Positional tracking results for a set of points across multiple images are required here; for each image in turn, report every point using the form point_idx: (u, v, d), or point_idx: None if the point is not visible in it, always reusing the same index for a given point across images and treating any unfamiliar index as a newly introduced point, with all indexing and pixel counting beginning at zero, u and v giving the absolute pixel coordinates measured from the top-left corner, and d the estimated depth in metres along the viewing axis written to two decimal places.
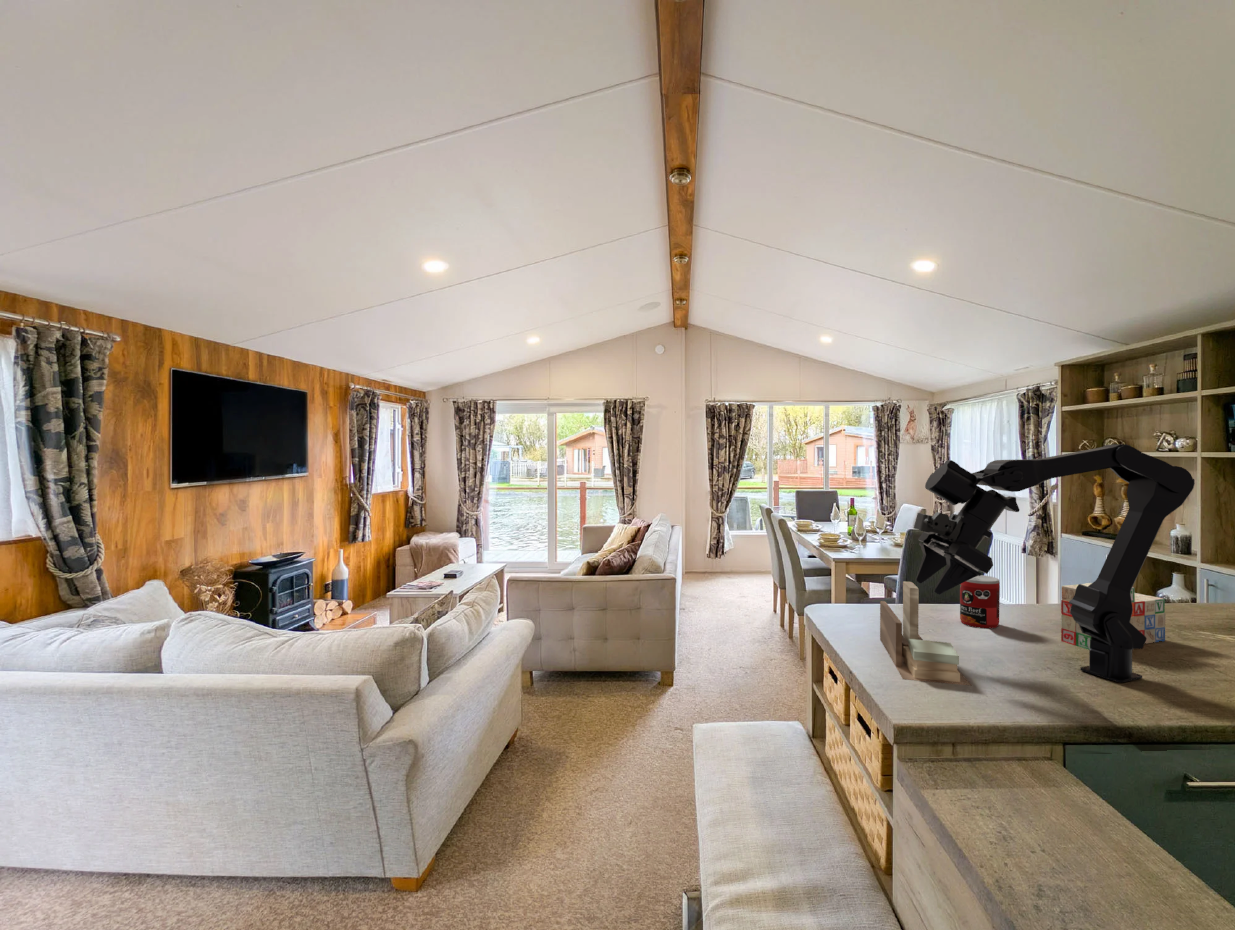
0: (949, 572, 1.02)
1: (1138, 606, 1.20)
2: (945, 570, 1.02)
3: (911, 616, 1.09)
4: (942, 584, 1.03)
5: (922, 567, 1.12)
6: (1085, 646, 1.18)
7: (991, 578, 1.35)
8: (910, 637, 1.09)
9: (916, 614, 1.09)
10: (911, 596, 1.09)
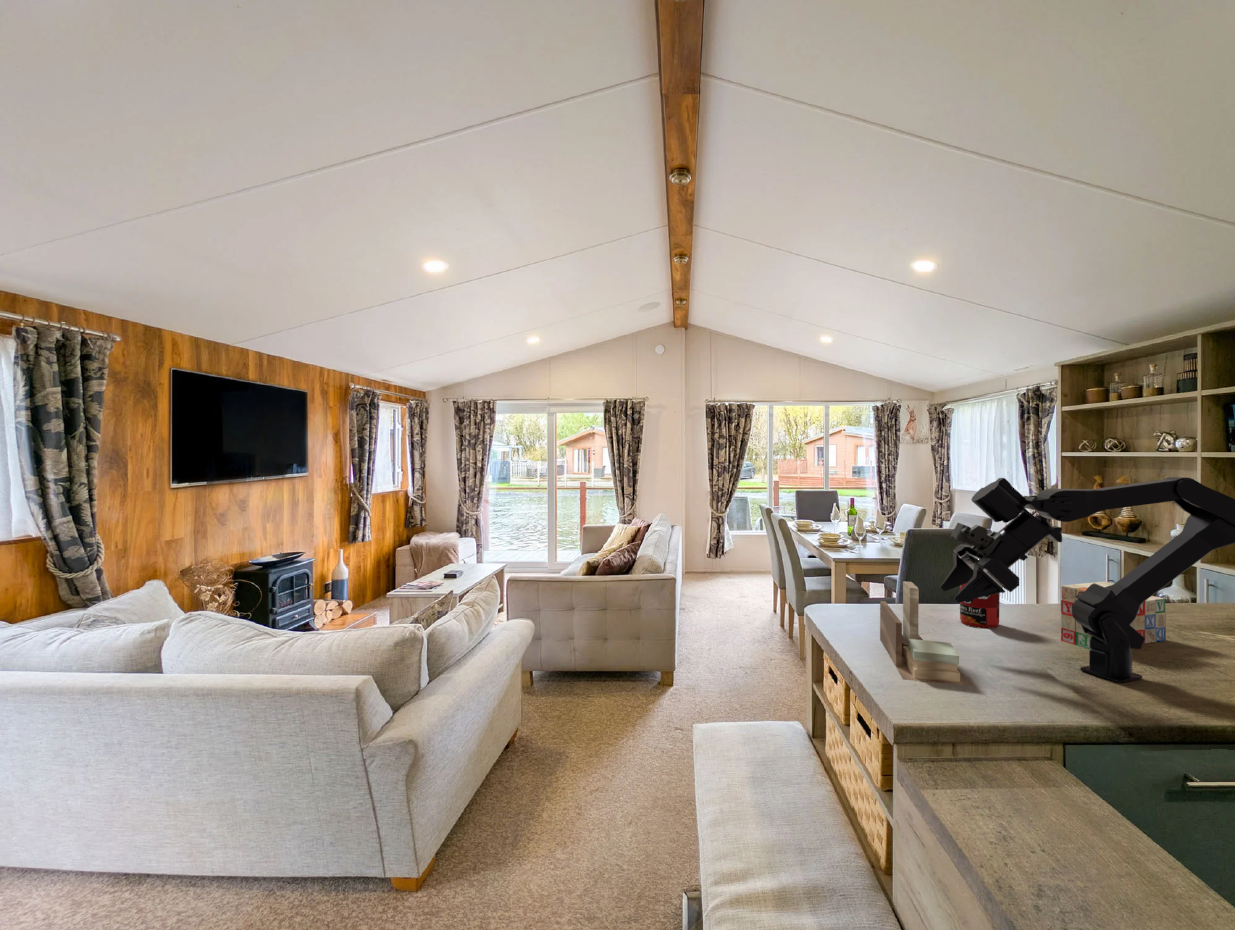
0: (973, 583, 1.04)
1: None
2: (970, 581, 1.04)
3: (911, 616, 1.09)
4: (964, 593, 1.05)
5: (949, 576, 1.14)
6: (1085, 645, 1.18)
7: None
8: (910, 637, 1.09)
9: (916, 614, 1.09)
10: (911, 596, 1.09)
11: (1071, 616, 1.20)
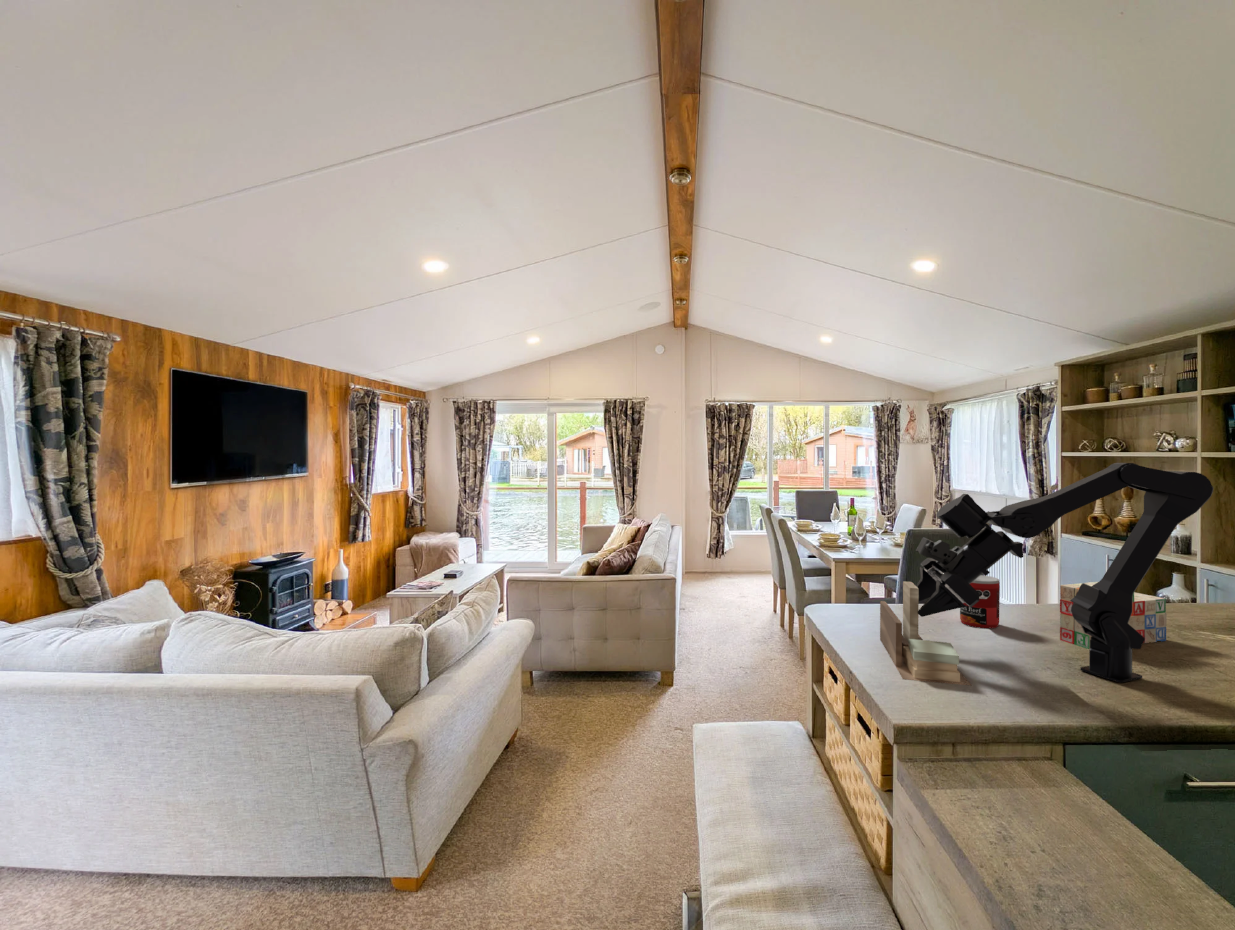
0: (936, 598, 1.05)
1: (1138, 606, 1.20)
2: (933, 595, 1.06)
3: (911, 616, 1.09)
4: (926, 608, 1.06)
5: None
6: (1083, 645, 1.18)
7: (991, 578, 1.35)
8: (910, 637, 1.09)
9: (916, 614, 1.09)
10: (911, 596, 1.09)
11: (1070, 615, 1.21)
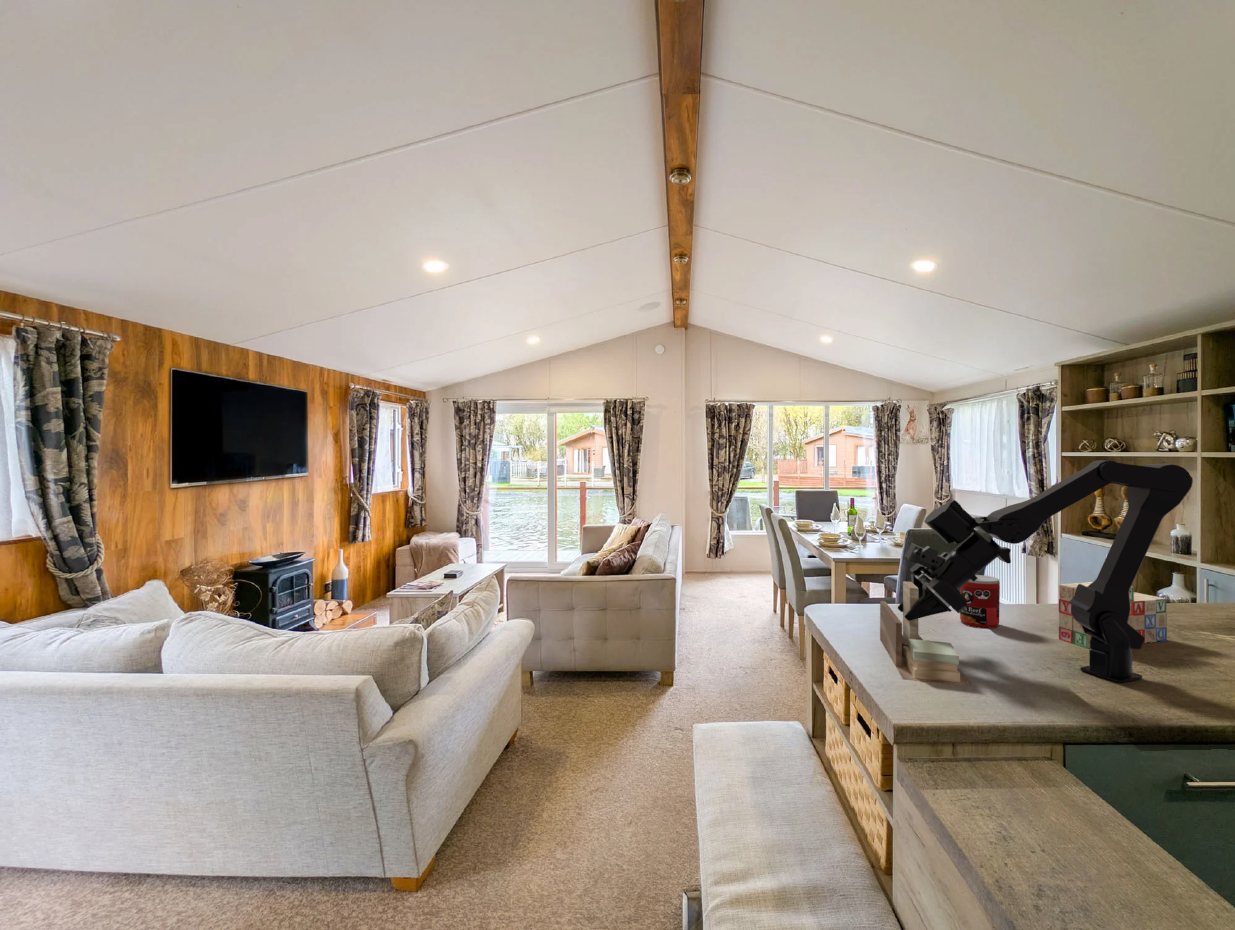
0: (922, 602, 1.07)
1: (1137, 605, 1.20)
2: (919, 599, 1.08)
3: None
4: (913, 612, 1.08)
5: None
6: (1081, 644, 1.19)
7: (991, 578, 1.35)
8: (910, 637, 1.09)
9: None
10: (911, 596, 1.09)
11: (1068, 615, 1.21)
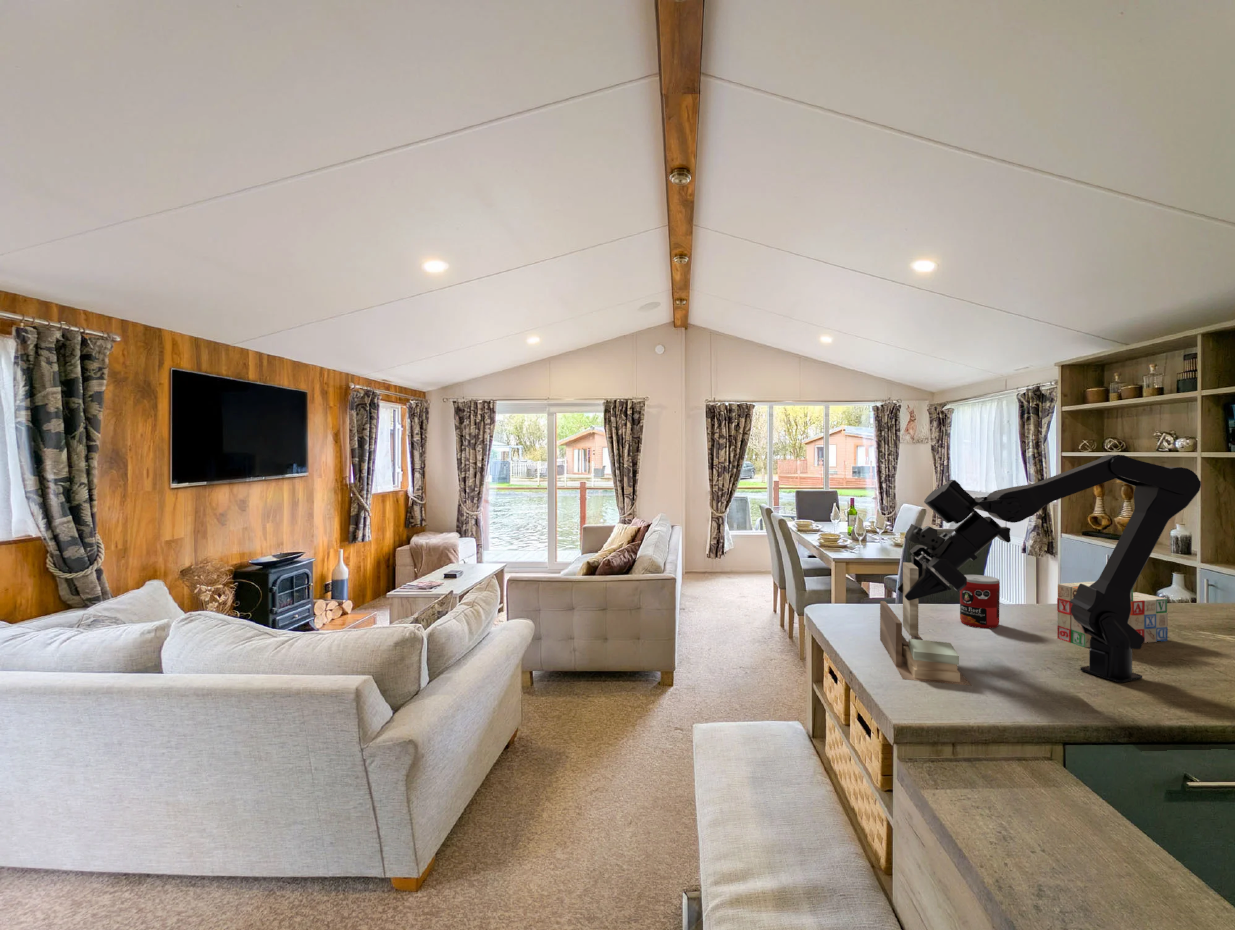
0: (922, 581, 1.07)
1: (1137, 605, 1.21)
2: (919, 579, 1.08)
3: None
4: (913, 591, 1.08)
5: None
6: (1079, 643, 1.19)
7: (991, 578, 1.35)
8: (910, 617, 1.09)
9: None
10: (911, 576, 1.09)
11: (1066, 614, 1.22)
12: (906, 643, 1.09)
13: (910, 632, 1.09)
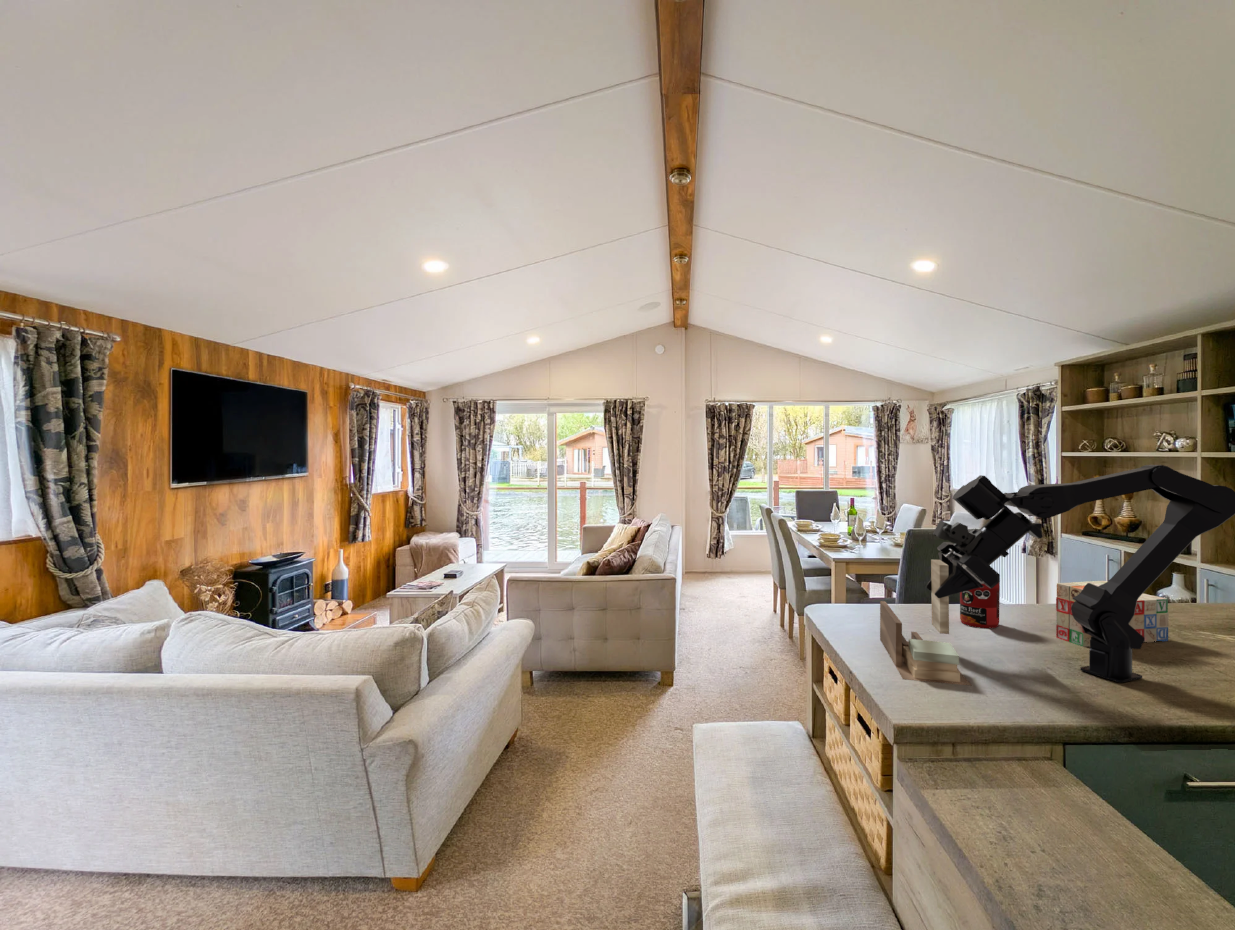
0: (953, 579, 1.06)
1: (1137, 605, 1.21)
2: (949, 576, 1.07)
3: None
4: (944, 589, 1.07)
5: None
6: (1077, 642, 1.20)
7: None
8: (940, 615, 1.08)
9: None
10: (941, 573, 1.08)
11: (1065, 613, 1.22)
12: (906, 643, 1.09)
13: (940, 630, 1.08)
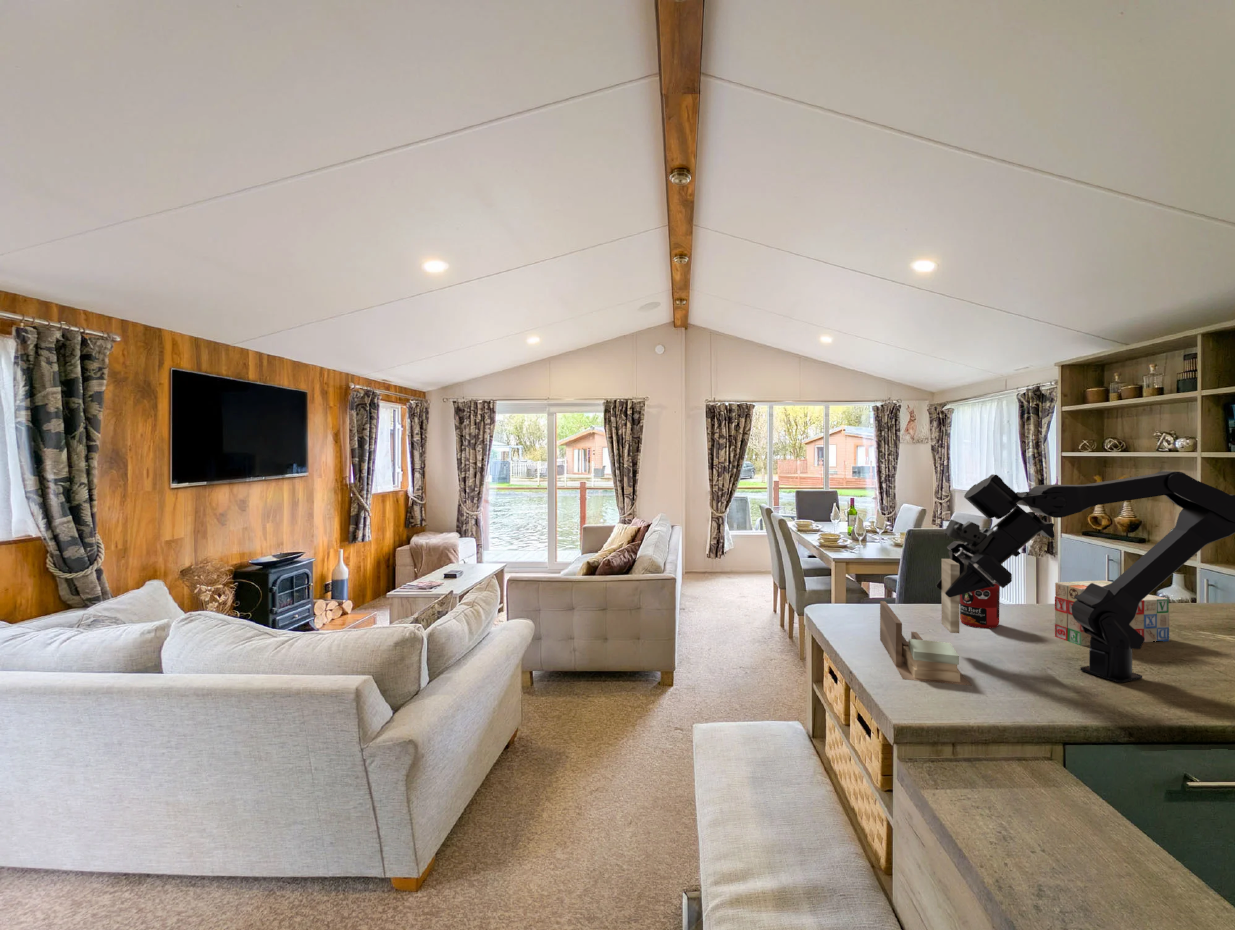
0: (964, 578, 1.05)
1: None
2: (960, 575, 1.06)
3: None
4: (954, 588, 1.06)
5: None
6: (1075, 641, 1.21)
7: None
8: (951, 614, 1.08)
9: None
10: (952, 572, 1.07)
11: (1063, 612, 1.23)
12: (906, 643, 1.09)
13: (951, 629, 1.08)
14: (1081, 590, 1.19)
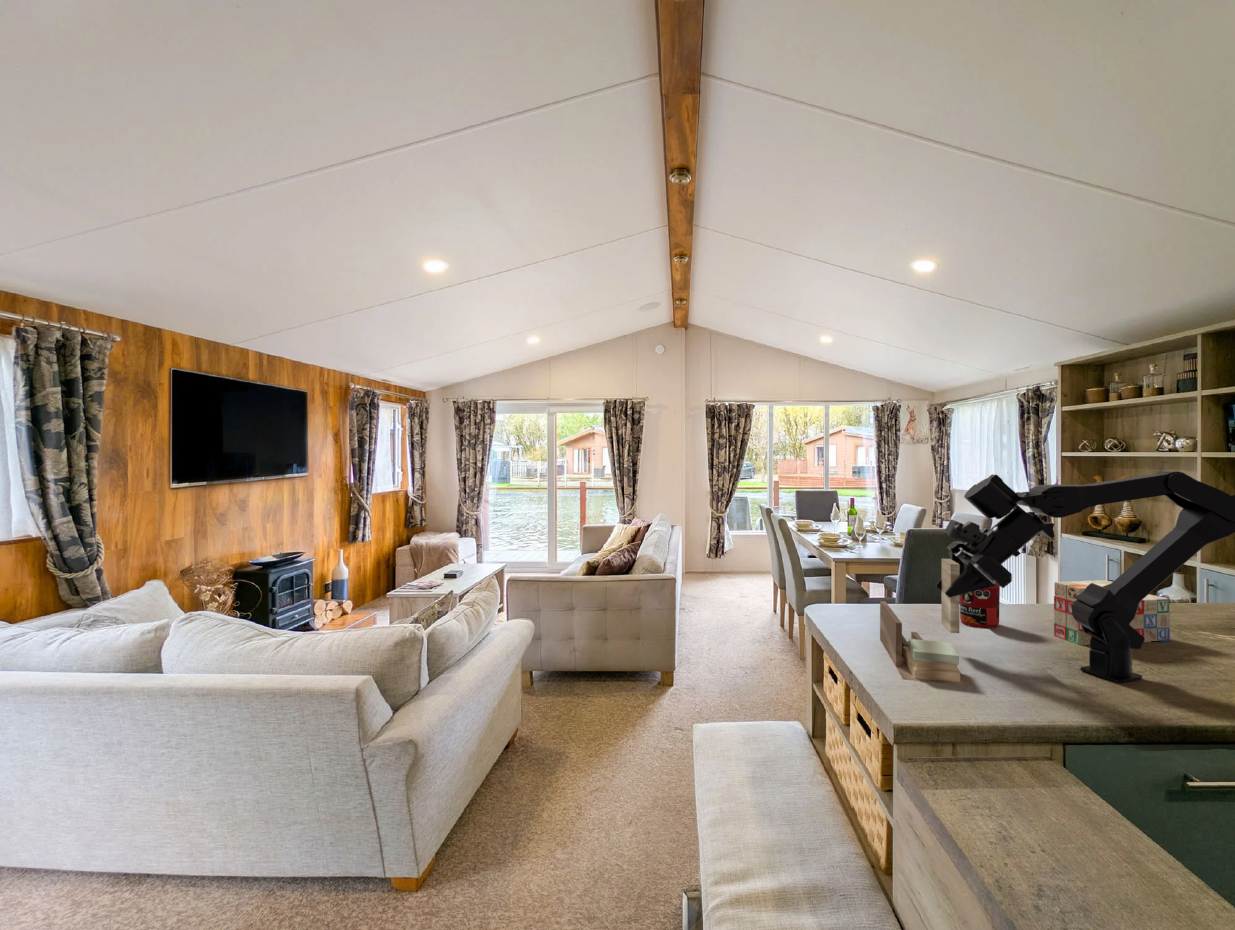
0: (964, 578, 1.05)
1: None
2: (960, 575, 1.06)
3: None
4: (954, 588, 1.06)
5: None
6: (1074, 641, 1.21)
7: None
8: (951, 614, 1.08)
9: None
10: (952, 572, 1.07)
11: (1062, 612, 1.24)
12: (906, 643, 1.09)
13: (951, 629, 1.08)
14: (1079, 589, 1.20)
